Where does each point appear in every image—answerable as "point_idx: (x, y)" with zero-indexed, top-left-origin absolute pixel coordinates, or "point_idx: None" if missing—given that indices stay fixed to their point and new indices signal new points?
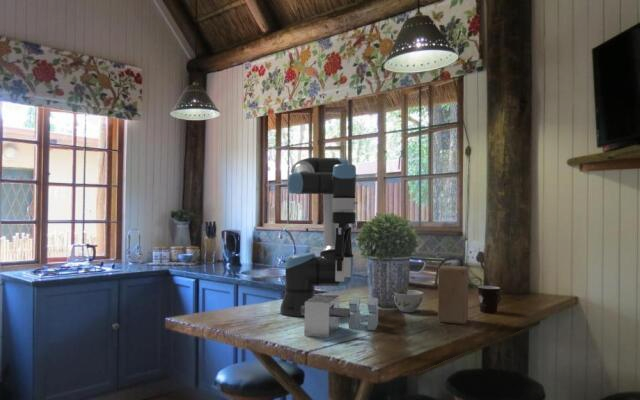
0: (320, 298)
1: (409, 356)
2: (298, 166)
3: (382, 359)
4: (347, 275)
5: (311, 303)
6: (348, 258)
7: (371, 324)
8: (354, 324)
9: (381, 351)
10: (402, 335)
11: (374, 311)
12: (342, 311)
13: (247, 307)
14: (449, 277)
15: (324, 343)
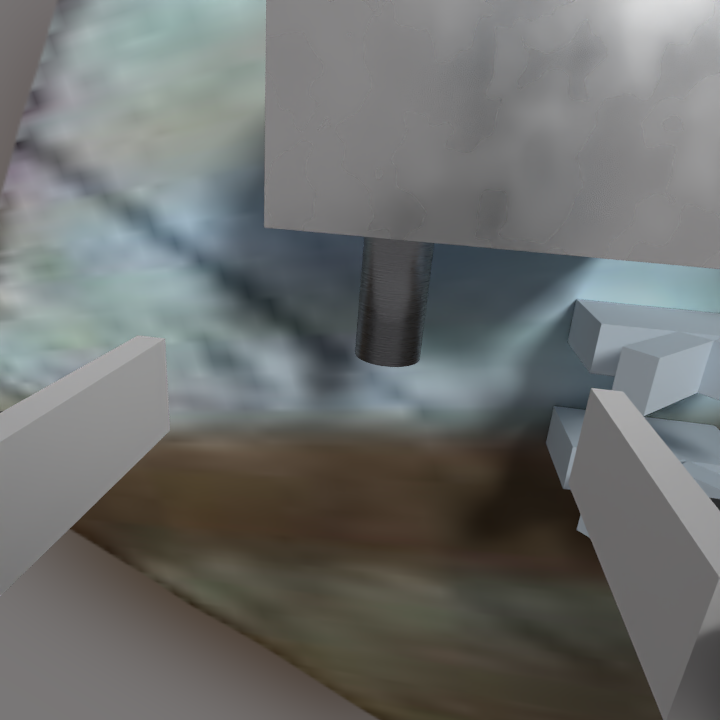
0: (499, 100)
1: (116, 551)
2: None
3: None
4: (579, 461)
5: (269, 53)
6: (668, 673)
7: (555, 440)
8: (575, 341)
9: (146, 462)
10: (445, 559)
11: None
12: (361, 312)
13: None
14: None
15: (194, 202)
